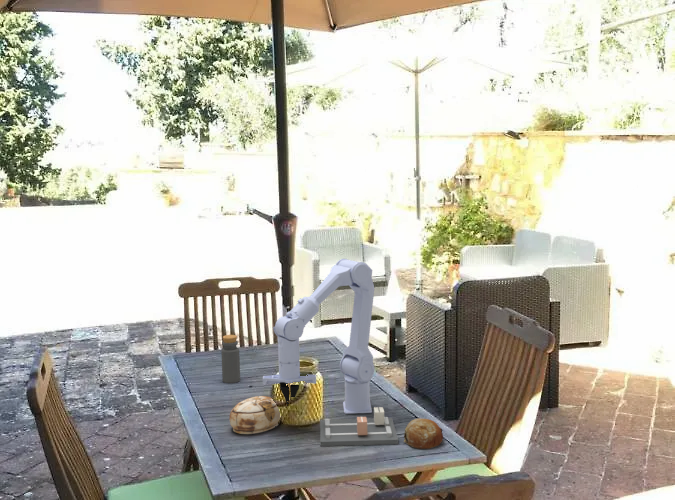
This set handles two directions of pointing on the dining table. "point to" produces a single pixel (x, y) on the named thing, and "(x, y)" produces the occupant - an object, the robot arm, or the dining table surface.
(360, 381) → the robot arm
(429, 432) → the bread roll
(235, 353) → the bottle
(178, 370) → the dining table surface
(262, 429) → the trinket box
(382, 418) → the fader
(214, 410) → the dining table surface
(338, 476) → the dining table surface
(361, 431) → the fader
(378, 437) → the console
